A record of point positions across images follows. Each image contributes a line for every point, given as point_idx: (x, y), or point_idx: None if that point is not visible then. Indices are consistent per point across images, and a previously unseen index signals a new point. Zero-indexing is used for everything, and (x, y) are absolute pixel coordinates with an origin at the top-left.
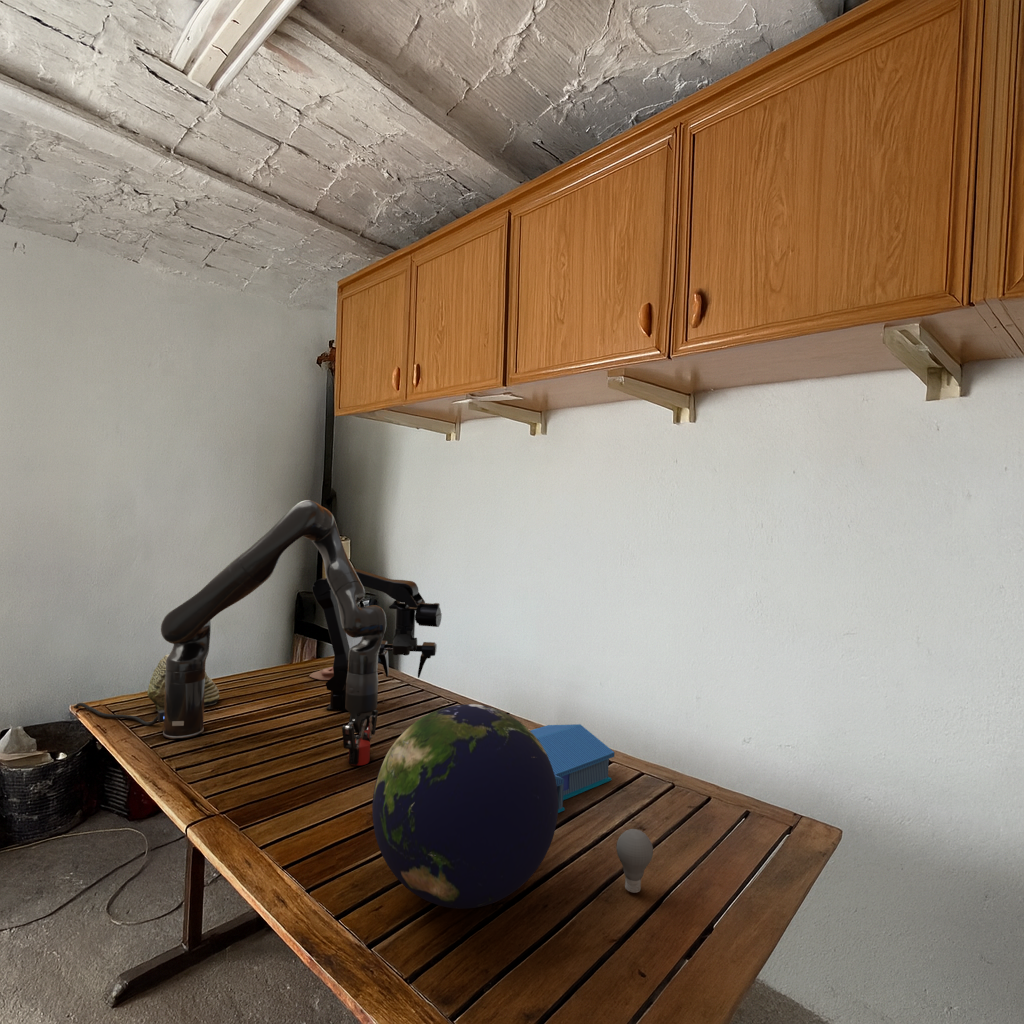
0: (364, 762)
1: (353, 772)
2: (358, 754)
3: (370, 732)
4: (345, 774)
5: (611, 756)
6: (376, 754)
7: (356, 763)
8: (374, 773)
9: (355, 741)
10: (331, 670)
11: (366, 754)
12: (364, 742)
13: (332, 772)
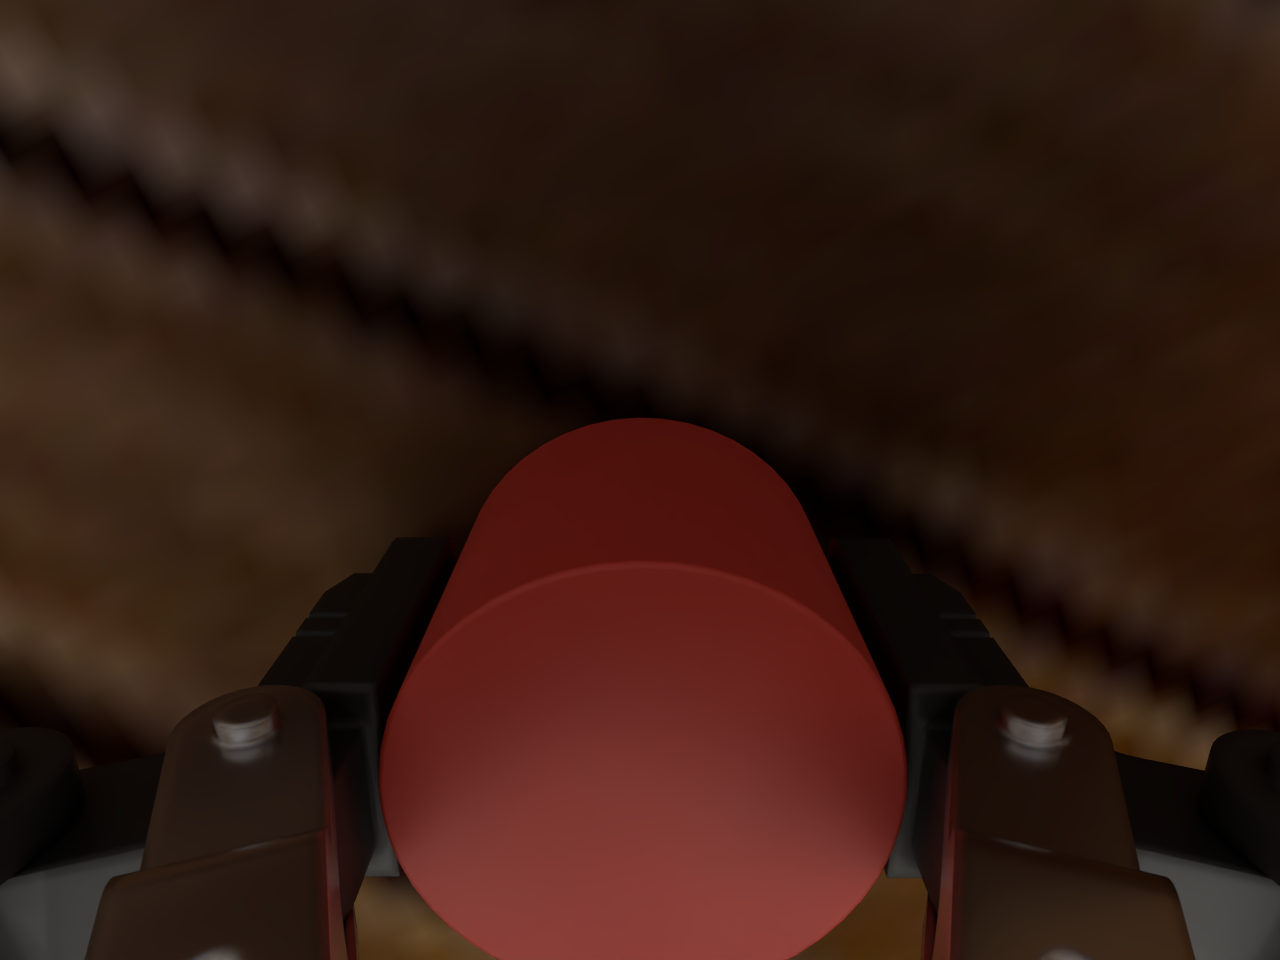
0: (748, 456)
1: (1082, 471)
2: (887, 617)
3: (206, 839)
4: (1181, 552)
5: None
6: (242, 451)
7: (893, 550)
8: (1052, 81)
9: (560, 930)
10: None
11: (721, 493)
12: (533, 736)
13: (1139, 750)
